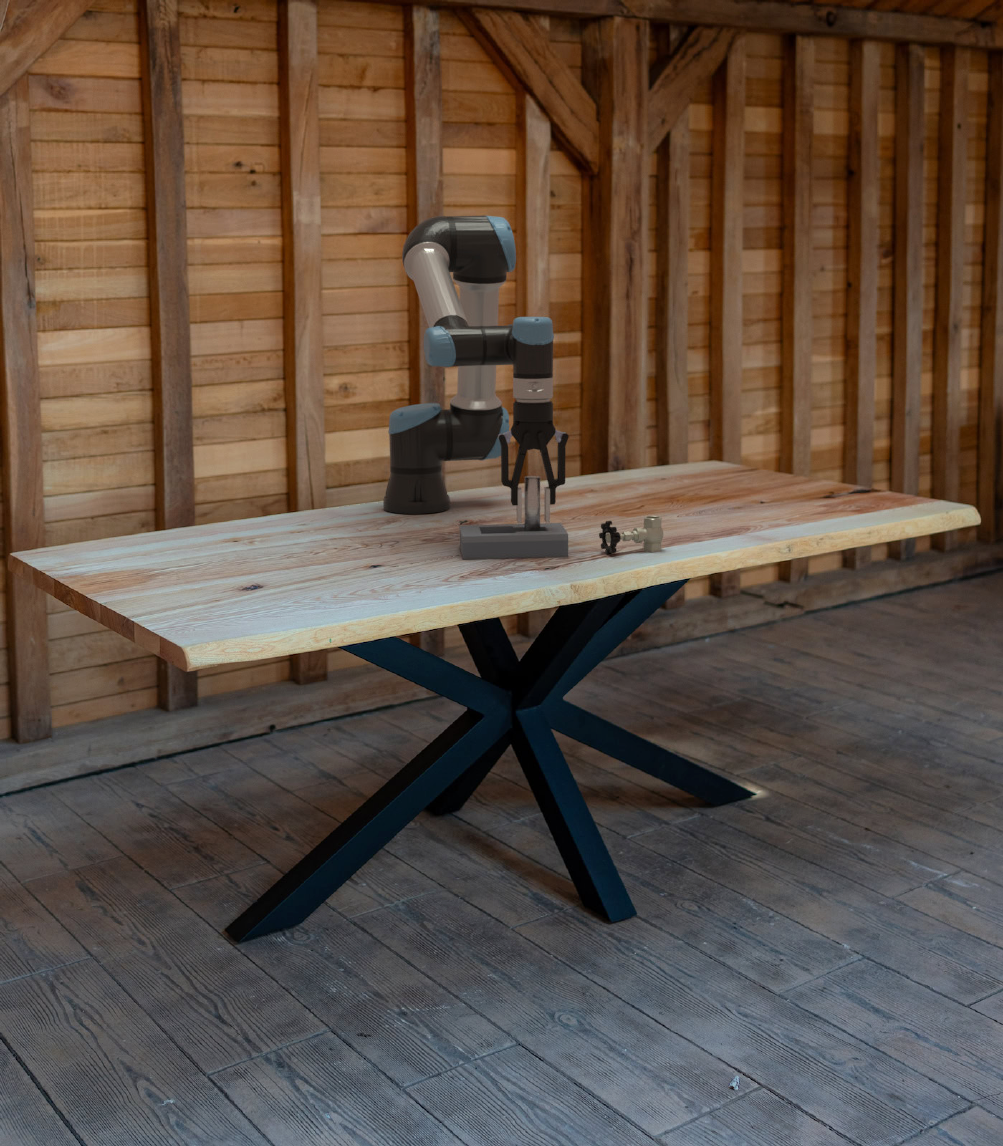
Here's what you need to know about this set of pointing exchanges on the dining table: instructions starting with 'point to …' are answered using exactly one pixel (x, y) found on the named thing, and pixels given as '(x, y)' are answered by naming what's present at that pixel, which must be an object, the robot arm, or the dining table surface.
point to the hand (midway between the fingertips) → (533, 521)
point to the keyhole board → (512, 541)
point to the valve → (634, 535)
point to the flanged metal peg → (532, 503)
